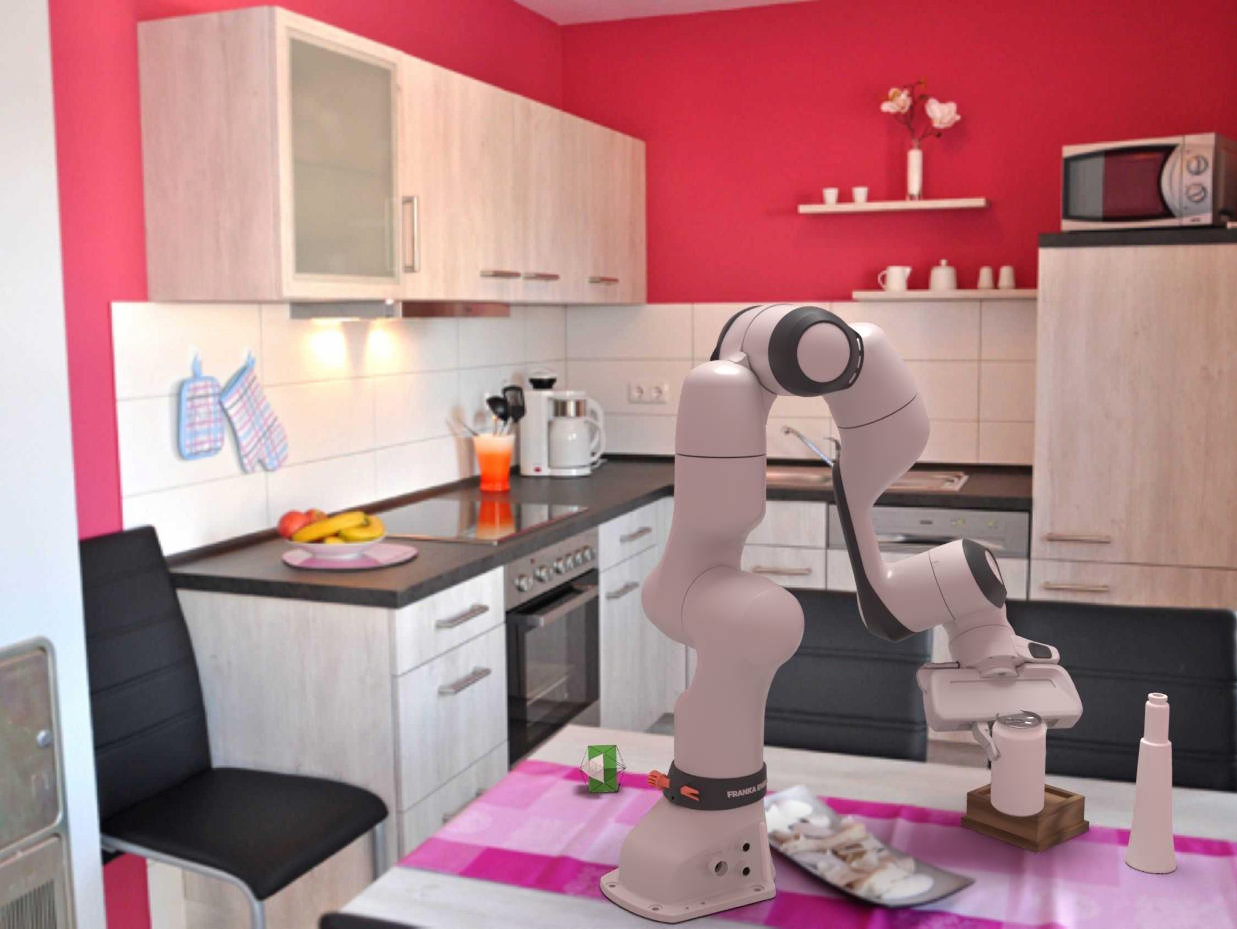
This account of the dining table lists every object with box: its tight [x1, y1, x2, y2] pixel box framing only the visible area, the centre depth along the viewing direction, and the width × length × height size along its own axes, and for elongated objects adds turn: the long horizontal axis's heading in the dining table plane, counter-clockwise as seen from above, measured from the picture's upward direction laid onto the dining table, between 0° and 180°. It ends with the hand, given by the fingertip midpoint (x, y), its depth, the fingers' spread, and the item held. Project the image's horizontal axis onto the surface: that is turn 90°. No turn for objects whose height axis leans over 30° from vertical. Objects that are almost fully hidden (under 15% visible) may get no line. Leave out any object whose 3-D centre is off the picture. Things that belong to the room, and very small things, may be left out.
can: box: [990, 710, 1047, 817], centre depth 165 cm, size 6×6×12 cm
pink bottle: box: [1124, 692, 1177, 875], centre depth 165 cm, size 6×6×22 cm
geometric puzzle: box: [578, 744, 628, 793], centre depth 193 cm, size 7×7×8 cm
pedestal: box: [960, 782, 1090, 854], centre depth 178 cm, size 12×12×5 cm
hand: (1018, 758), depth 164 cm, fingers closed on can, 4 cm apart
